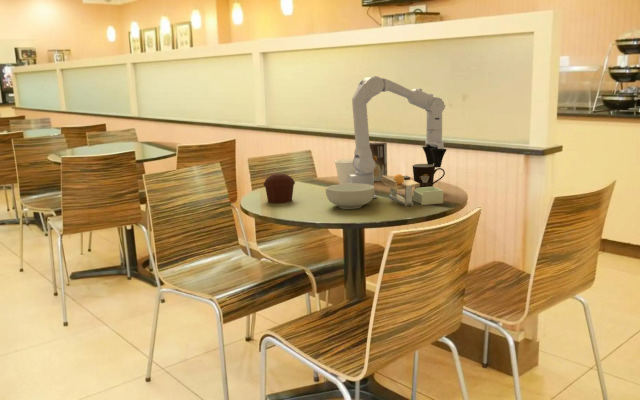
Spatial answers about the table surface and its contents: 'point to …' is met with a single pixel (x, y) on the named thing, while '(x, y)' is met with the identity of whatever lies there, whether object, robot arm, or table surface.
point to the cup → (344, 169)
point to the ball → (399, 179)
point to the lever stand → (404, 201)
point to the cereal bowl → (350, 195)
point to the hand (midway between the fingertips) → (434, 165)
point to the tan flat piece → (393, 184)
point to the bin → (428, 195)
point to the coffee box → (379, 160)
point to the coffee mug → (425, 174)
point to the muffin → (279, 188)
